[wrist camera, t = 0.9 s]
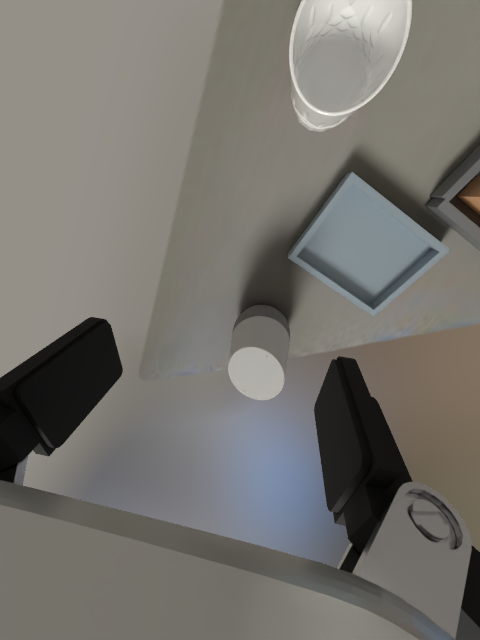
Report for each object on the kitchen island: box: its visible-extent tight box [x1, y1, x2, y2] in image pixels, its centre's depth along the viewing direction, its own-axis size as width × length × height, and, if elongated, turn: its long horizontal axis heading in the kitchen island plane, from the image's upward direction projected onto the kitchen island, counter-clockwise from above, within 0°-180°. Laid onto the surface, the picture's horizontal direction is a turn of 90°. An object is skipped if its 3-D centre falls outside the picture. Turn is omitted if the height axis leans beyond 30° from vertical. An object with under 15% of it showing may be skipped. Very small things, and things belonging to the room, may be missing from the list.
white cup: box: [289, 0, 412, 132], centre depth 20 cm, size 8×8×10 cm
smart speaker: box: [228, 305, 290, 400], centre depth 34 cm, size 10×9×14 cm
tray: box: [288, 172, 450, 317], centre depth 30 cm, size 12×16×2 cm
